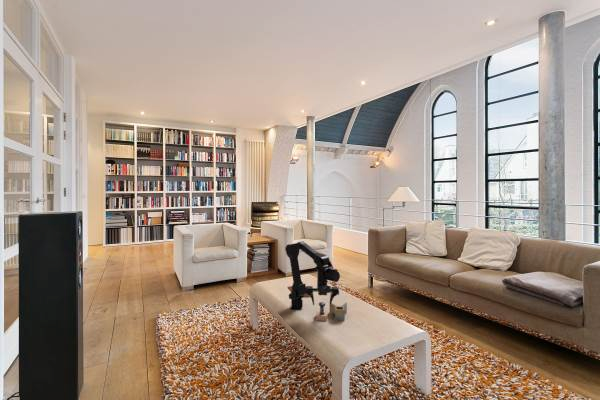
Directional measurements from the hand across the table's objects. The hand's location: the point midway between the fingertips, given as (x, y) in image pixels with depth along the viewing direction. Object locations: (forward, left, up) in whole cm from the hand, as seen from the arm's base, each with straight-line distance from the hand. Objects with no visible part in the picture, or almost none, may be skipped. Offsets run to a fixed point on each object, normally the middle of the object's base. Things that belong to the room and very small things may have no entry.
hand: (321, 305), depth 173 cm
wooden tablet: (-15, +44, -8) cm, 47 cm away
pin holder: (0, 0, -7) cm, 7 cm away
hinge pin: (0, 0, -7) cm, 7 cm away
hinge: (+10, +3, -7) cm, 13 cm away
